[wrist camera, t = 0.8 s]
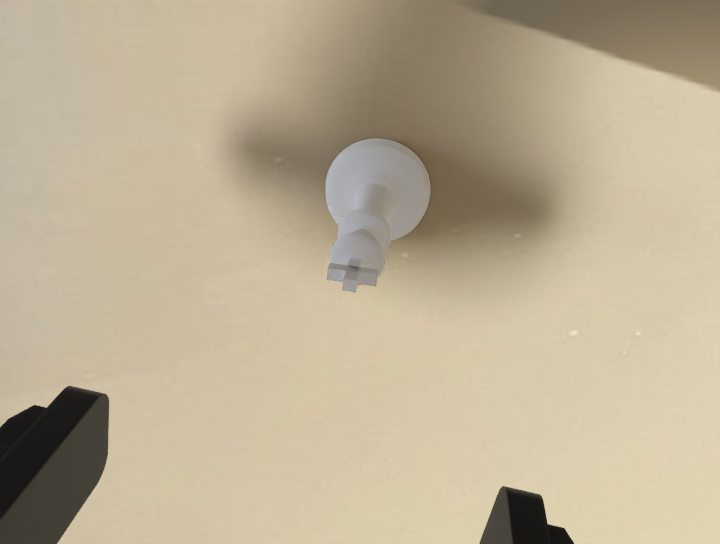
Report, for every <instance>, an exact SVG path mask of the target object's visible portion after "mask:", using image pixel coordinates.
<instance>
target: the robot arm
mask: <svg viewBox="0 0 720 544" xmlns="http://www.w3.org/2000/svg"><path fill="white" fill-rule="evenodd" d="M108 423H109V399H108V396H107V395H106V394H103V393H99V392H95V391H90V390H86V389H81V388H77V387H73V386H68V387H66V388H65V389H64V390H63V391H62V392H61V393H60V394H59V395H58V396H57V397H56V398H55V399H54V401H53V402H52V403H51V404H50V405H49V406H48V407H47V408H45V407H40V406H36V405H34V406H32V407H30V408H28V409H26V410H24V411H22V412H21V413H19V414H17V415H15V416H13V417H11V418H9V419H8V420H7V421H6V422H5V423H4V424H3V425H2V426H1V427H0V544H57V543H58V541H59V540H60V538H61V537H62V535H63V534H64V532H65V531H66V529H67V528H68V526H69V525H70V523H71V522H72V521H73V519H74V518H75V516H76V515H77V513H78V512H79V510H80V509H81V507H82V506H83V504H84V503H85V501H86V500H87V498H88V497H89V495H90V494H91V492H92V491H93V489H94V488H95V486H96V485H97V483H98V482H99V480H100V478H101V475H102V473H103V470H104V467H105V464H106V460H107V455H108ZM480 544H574V543H573V541H572V540H571V538H570V536H569V535H568V533H567V532H566V530H565V529H564V528H561V527H557V526H552V525H548V524H547V519H546V514H545V508H544V503H543V499H542V497H541V495H539V494H535V493H531V492H526V491H522V490H518V489H513V488H509V487H505V486H503V487H501V489H500V490H499V493H498V495H497V498H496V500H495V503H494V506H493V508H492V511H491V514H490V517H489V519H488V522H487V525H486V527H485V530H484V533H483V535H482V538H481V541H480Z"/></svg>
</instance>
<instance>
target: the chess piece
mask: <svg viewBox="0 0 720 544" xmlns="http://www.w3.org/2000/svg"><path fill="white" fill-rule="evenodd" d="M430 194H431V186H430V180H429V176H428V173H427V170H426V168H425V166H424V165H423V163H422V161H421V160H420V159H419V158H418V156H417V155H416V154H415V153H414V152H412V151H411V150H410V149H409V148H407V147H406V146H404V145H402V144H400V143H398V142H395V141H392V140H388V139H381V138H372V139H365V140H361V141H358V142H356V143H354V144H352V145H350V146H348V147H347V148H345V149H344V150H343V151H342V152H341V153H340V154H339V155H338V156H337V157H336V158H335V159H334V161H333V163H332V164H331V166H330V168H329V171H328V174H327V178H326V186H325V196H326V202H327V206H328V209H329V211H330V213H331V215H332V217H333V218H334V220H335V221H336V223H337V224H338V225H339V227H338V240H337V241H336V242H335V243H334V245H333V246H332V249H331V251H330V264H329V267H328V274H327V280H334V281H341V282H343V291H351V292H356V288H357V285H371V286H376V283H377V278H378V277H379V276H380V274H381V273H382V271H383V269H384V265H385V255H384V252H385V251H386V250H387V249H388V247H389V245H390V243H391V241H392V240H396V239H398V238H401V237H403V236H404V235H406V234H408V233H409V232H410V231H412V230H413V229H414V228H415V227H416V226H417V225H418V223H419V222H420V221H421V219H422V217H423V216H424V214H425V212H426V210H427V207H428V204H429V201H430Z"/></svg>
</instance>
